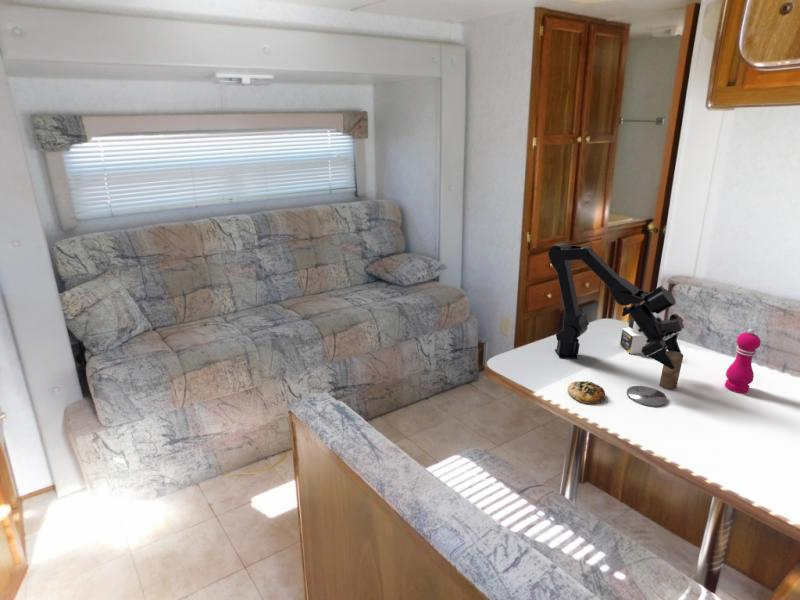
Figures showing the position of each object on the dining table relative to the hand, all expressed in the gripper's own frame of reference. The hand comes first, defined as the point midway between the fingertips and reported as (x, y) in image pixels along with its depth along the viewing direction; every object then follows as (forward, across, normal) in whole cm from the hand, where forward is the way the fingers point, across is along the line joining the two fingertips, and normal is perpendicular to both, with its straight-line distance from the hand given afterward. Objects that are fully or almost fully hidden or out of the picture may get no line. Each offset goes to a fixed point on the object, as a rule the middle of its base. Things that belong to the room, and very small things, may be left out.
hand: (677, 363), depth 161 cm
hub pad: (+3, -12, +9) cm, 15 cm away
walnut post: (+5, 0, +7) cm, 8 cm away
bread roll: (-7, -23, +19) cm, 31 cm away
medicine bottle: (-7, +21, +19) cm, 29 cm away
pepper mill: (+17, +13, -5) cm, 22 cm away
